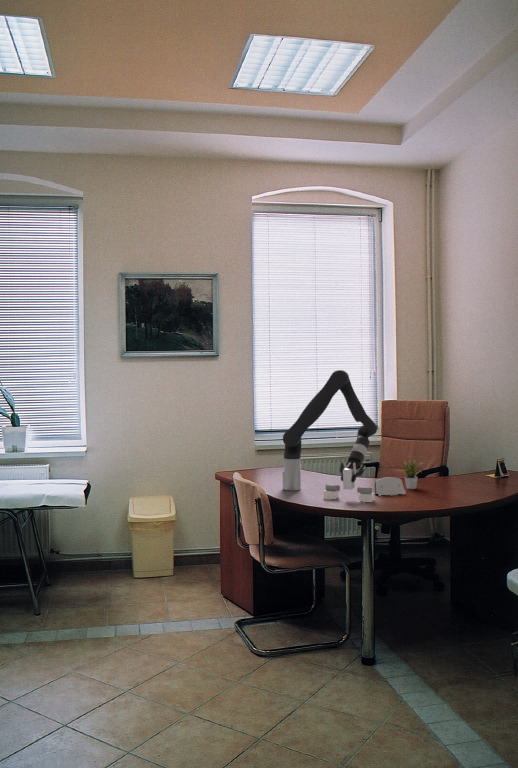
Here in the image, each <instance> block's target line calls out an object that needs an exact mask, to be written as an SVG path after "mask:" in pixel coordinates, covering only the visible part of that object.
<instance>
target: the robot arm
mask: <svg viewBox="0 0 518 768" xmlns="http://www.w3.org/2000/svg"><path fill="white" fill-rule="evenodd" d="M339 390H340V392H341V393H342V395H343V397H344V399H345V402H346V405H347V407H348V409H349V412H350V414H351V415H352V417H353V419H354V421H355V422H357V423H360V424H362V425H360V427H359V428H358V430H357V433H356V440H355V443H354V445H353V446H352V449H351V450H350V453H349V456H348V460H347V461H346V463H344V462H340V468H339V472H340V474H341V476H340V481H341V482H343V469H345V468H352V469H354V474H353V476H352V478H351V481H352V482H353V483H354V484H355V481H356V480H357V477H362V475H363V473H364V472H365V470H366V469H367V467H366V465H365V464H363V463H364V460H365V458H366V455H367V452H368V448H369V446H370V439H369V437H373V436H374V435H375V434H377V432H378V427H377V424H376V423H375V422H374V421H373V420H372V418H371V417H370V416H369V415H368V414H367V412H366V410H365V408H364V406H363V405H362V403H361V401H360V399H359V398H358V397H357V394H356V391H355V389H354V388H353V386H352V382H351V380H350V376H349V374H348V373H347V372H346V371H345V370H343V369H337V370H334V371H333V372H332V373H331V374H330V376H329V378H328V379H327V381H326V383H325V384H324V386H323V387H322V388H321V389H320V390H319V391H318V392H317V393H316V394H315V396H314V397H312V399H311V400H310V401H309V402H308V403H307V405H306V406H305V408H304V409H303V410H302V412H301V413H300V415H299V416H298V419H297V420H296V421H295V422H294V423H293V424H292V425H291V427H289V428H288V429H287V430H286V431H285V432H284V433H283V435H282V442H283V444H284V451H283V452H284V453H283V471H282V490H285V491H292V492H293V491H300V490H301V487H302V484H301V482H302V481H301V479H302V477H301V476H302V474H301V473H302V472H301V469H302V468H301V465H302V464H301V463H302V461H301V459H302V458H301V456H302V438H303V435H304V434H305V432H306V431H307V430H308V429H309V428H310V427H311V426H312V425H313V424H315V422H316V421H317V420H319V418H320V417H321V416H322V415H323V413H324V412H325V411H326V410H327V408H328V407H329V404H330V403H331V401H332V399H333V398H334V396H335V395H336V394H337V393H338V391H339Z"/></svg>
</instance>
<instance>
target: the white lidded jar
mask: <svg viewBox="0 0 518 768" xmlns="http://www.w3.org/2000/svg"><path fill="white" fill-rule="evenodd" d="M324 488H325V489H324V490H323V500H331V499H335V500H337V499H338V498H339V492H340V491H341V485H339V484H325V487H324ZM336 498H337V499H336Z"/></svg>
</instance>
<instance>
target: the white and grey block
mask: <svg viewBox="0 0 518 768" xmlns="http://www.w3.org/2000/svg"><path fill="white" fill-rule="evenodd" d="M356 493H358V497H359V498H358V500H359V501H365V502H372V501H373V500H374V501H375V495H374V492H373V488H372V487H366V486H358V487H357V489H356ZM374 501H373V502H374ZM365 502H364V503H365ZM373 502H372V503H373Z"/></svg>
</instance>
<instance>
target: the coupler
mask: <svg viewBox="0 0 518 768" xmlns="http://www.w3.org/2000/svg"><path fill="white" fill-rule="evenodd" d="M353 474H354V469H352V468H344V469H343V481H342V487H343V490H354V489H355V482H354V483H353V482H352V481H351V478H352V476H353Z"/></svg>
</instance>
